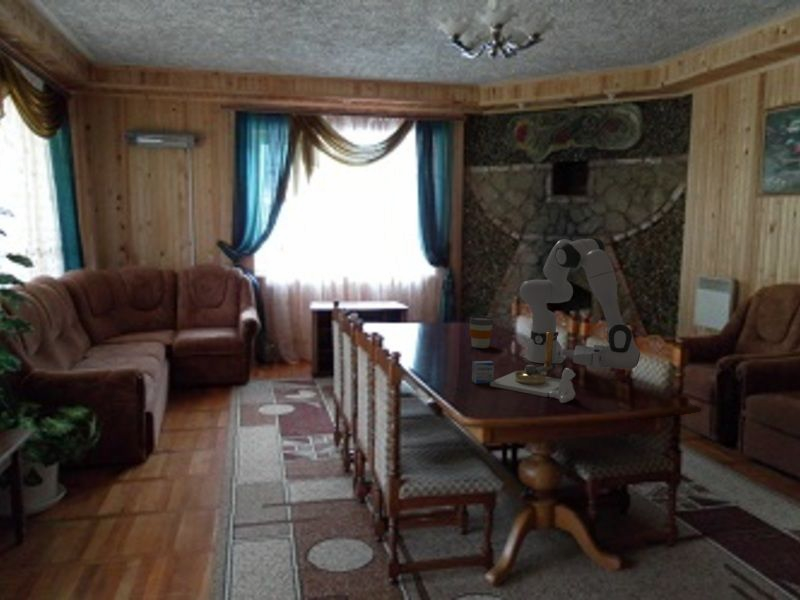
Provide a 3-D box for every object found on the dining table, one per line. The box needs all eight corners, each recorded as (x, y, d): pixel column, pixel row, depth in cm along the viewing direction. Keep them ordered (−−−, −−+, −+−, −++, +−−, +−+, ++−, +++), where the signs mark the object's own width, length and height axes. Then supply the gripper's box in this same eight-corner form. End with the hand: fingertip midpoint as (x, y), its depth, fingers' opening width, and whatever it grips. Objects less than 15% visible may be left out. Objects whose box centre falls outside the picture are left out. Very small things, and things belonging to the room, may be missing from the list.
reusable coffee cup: (486, 349, 316) (487, 321, 314) (464, 346, 322) (465, 318, 320) (495, 345, 326) (497, 318, 324) (474, 342, 333) (475, 315, 331)
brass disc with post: (535, 386, 240) (538, 340, 237) (509, 380, 248) (511, 336, 245) (562, 377, 255) (564, 334, 253) (536, 372, 264) (539, 330, 261)
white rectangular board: (515, 374, 265) (516, 356, 264) (569, 384, 251) (570, 365, 250) (489, 385, 246) (490, 366, 245) (546, 397, 232) (547, 376, 231)
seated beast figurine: (546, 396, 233) (548, 365, 231) (565, 394, 236) (567, 364, 234) (561, 403, 224) (563, 371, 222) (581, 401, 227) (583, 370, 226)
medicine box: (475, 384, 248) (476, 363, 247) (471, 381, 252) (472, 360, 251) (493, 383, 250) (494, 362, 249) (489, 380, 254) (490, 360, 253)
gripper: (598, 343, 261) (564, 340, 265) (597, 353, 242) (561, 349, 246) (597, 358, 262) (563, 354, 266) (596, 368, 243) (560, 365, 247)
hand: (562, 352), depth 256 cm, fingers closed
